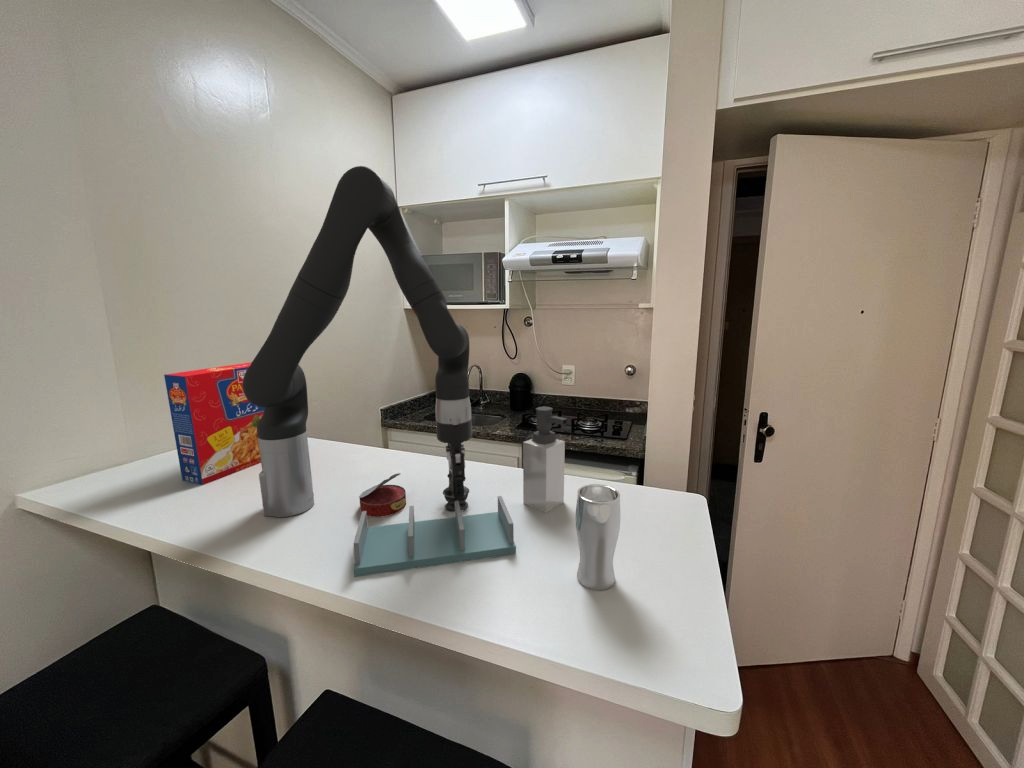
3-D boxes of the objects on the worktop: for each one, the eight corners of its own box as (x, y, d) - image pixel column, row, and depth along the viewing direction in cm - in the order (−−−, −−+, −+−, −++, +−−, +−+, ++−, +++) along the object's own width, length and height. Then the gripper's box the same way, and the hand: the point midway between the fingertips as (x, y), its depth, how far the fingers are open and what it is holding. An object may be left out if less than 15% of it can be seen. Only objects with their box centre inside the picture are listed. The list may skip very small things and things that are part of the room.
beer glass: (570, 566, 70) (571, 484, 67) (609, 563, 71) (613, 482, 68) (580, 594, 64) (582, 504, 61) (623, 591, 64) (628, 502, 61)
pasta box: (202, 485, 104) (185, 376, 98) (182, 480, 106) (164, 374, 101) (296, 449, 129) (286, 361, 124) (277, 446, 132) (267, 360, 127)
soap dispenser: (554, 516, 87) (555, 416, 83) (523, 503, 93) (523, 408, 89) (572, 505, 91) (574, 409, 87) (541, 493, 97) (541, 403, 93)
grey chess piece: (472, 500, 94) (470, 450, 92) (466, 513, 89) (465, 460, 86) (447, 499, 95) (445, 450, 93) (440, 512, 89) (437, 459, 87)
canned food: (375, 537, 88) (349, 507, 83) (368, 512, 96) (344, 483, 92) (421, 505, 91) (398, 474, 86) (410, 484, 99) (389, 454, 95)
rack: (353, 576, 68) (351, 546, 67) (363, 534, 80) (361, 508, 79) (515, 553, 74) (515, 525, 73) (501, 517, 86) (501, 493, 85)
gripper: (434, 410, 94) (438, 477, 97) (437, 428, 80) (441, 505, 83) (467, 408, 95) (469, 473, 99) (475, 425, 82) (478, 500, 85)
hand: (456, 488), depth 91 cm, fingers open, 8 cm apart
